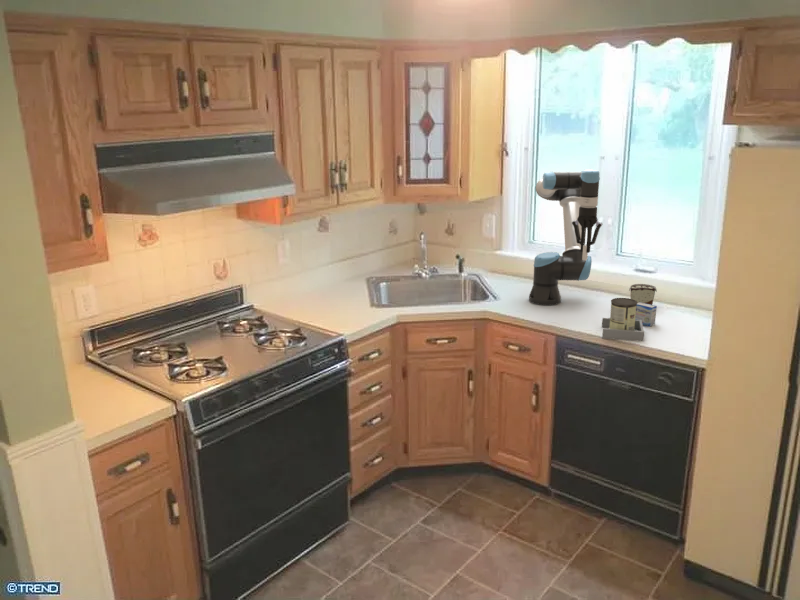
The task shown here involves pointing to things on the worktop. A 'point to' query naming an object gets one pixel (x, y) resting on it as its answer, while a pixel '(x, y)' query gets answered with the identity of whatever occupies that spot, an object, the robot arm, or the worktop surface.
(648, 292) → the food container
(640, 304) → the medicine box
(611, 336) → the frame
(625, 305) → the coffee can
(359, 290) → the worktop surface
